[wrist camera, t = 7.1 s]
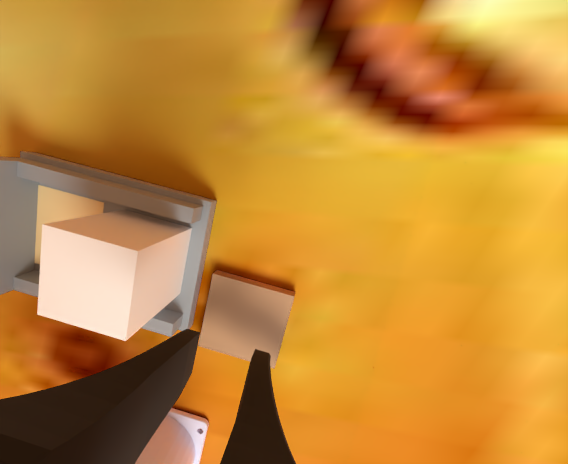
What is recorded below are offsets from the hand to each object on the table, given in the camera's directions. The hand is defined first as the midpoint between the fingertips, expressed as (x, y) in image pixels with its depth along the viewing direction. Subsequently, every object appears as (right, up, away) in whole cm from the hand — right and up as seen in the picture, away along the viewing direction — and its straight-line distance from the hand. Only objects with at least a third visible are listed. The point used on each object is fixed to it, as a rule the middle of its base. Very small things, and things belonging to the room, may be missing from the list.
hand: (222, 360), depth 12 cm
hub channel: (-10, +5, +9) cm, 15 cm away
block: (-7, +4, +8) cm, 11 cm away
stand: (0, -1, +9) cm, 9 cm away
